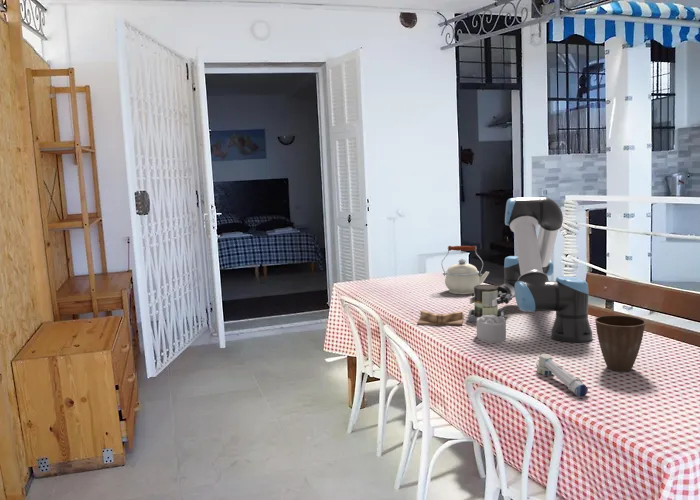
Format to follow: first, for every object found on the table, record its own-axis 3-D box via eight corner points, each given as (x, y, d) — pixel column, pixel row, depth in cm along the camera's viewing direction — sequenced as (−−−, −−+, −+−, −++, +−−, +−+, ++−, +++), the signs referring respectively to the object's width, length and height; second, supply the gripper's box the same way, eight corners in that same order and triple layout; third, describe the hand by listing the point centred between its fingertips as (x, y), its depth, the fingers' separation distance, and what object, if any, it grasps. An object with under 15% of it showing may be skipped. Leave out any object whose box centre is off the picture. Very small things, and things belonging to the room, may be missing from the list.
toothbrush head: (574, 385, 181) (534, 349, 205) (572, 406, 183) (532, 368, 206) (590, 383, 182) (548, 348, 206) (588, 404, 184) (547, 367, 207)
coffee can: (470, 319, 276) (470, 287, 274) (478, 314, 285) (478, 283, 283) (493, 321, 271) (493, 289, 269) (501, 316, 279) (501, 285, 278)
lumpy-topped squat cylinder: (499, 333, 252) (499, 312, 251) (510, 342, 239) (510, 320, 238) (474, 335, 251) (474, 313, 250) (483, 343, 238) (483, 321, 237)
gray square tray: (503, 322, 269) (503, 318, 268) (467, 321, 272) (467, 317, 272) (503, 314, 283) (503, 310, 283) (469, 313, 287) (469, 309, 286)
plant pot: (586, 369, 206) (587, 321, 204) (605, 358, 216) (606, 312, 214) (632, 378, 195) (634, 328, 193) (651, 367, 206) (652, 319, 203)
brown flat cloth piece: (422, 315, 286) (421, 307, 285) (464, 316, 281) (464, 307, 281) (417, 324, 270) (417, 315, 269) (462, 325, 265) (462, 316, 265)
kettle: (440, 295, 330) (439, 248, 326) (443, 288, 347) (442, 243, 344) (489, 295, 324) (488, 248, 320) (489, 288, 341) (489, 243, 338)
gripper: (526, 303, 284) (505, 313, 267) (481, 298, 298) (458, 307, 281) (526, 287, 283) (505, 296, 266) (481, 282, 297) (458, 291, 280)
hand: (481, 302), depth 273 cm, fingers closed on coffee can, 10 cm apart
